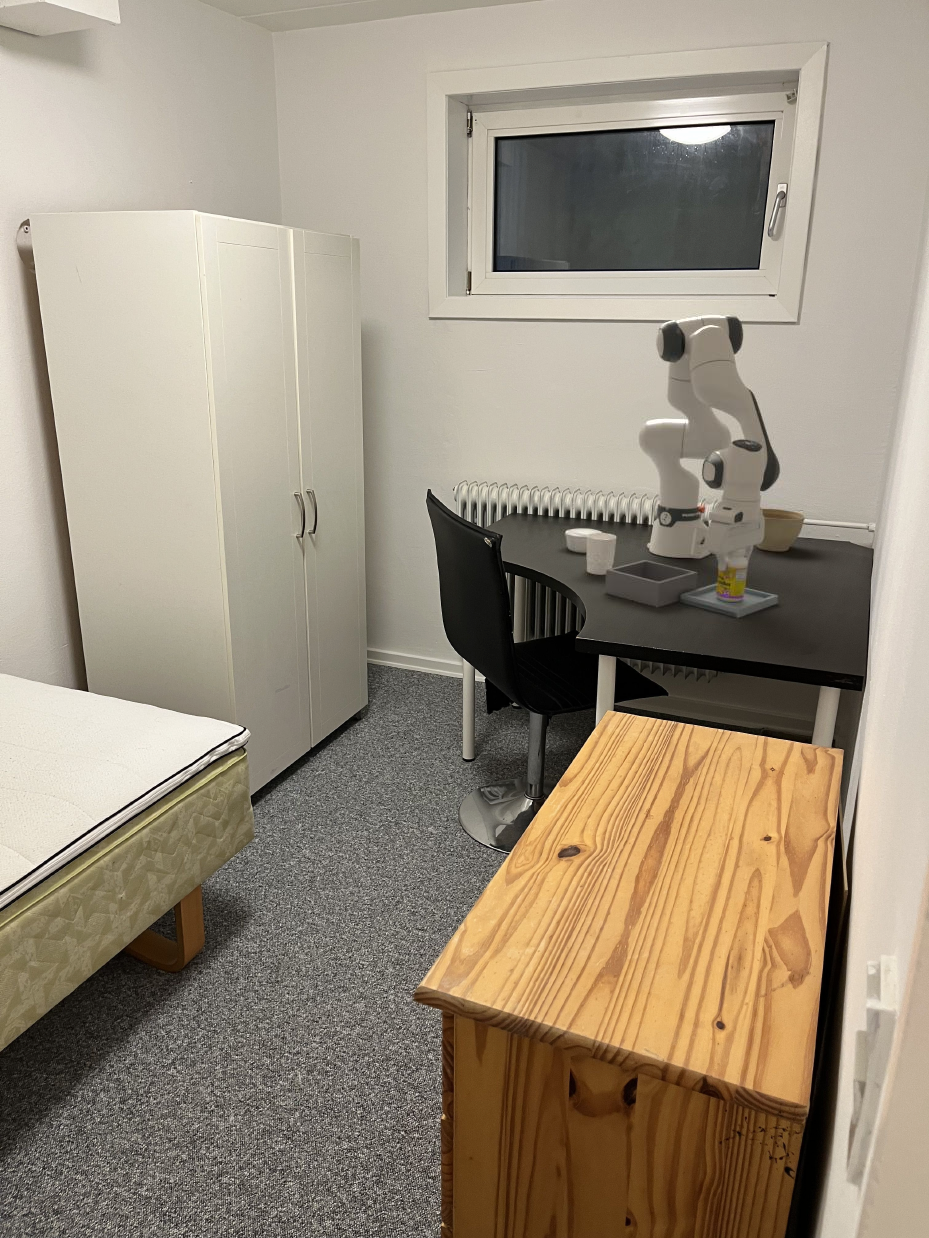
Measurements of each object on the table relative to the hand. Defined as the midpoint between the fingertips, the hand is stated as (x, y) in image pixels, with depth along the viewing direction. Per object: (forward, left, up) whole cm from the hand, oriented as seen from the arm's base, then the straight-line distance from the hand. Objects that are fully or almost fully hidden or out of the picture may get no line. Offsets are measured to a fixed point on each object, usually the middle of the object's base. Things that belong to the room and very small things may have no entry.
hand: (733, 566), depth 221 cm
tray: (0, 0, -9) cm, 9 cm away
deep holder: (+9, -17, -9) cm, 21 cm away
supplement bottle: (0, 0, -8) cm, 8 cm away
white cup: (+2, -39, -9) cm, 40 cm away
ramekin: (-15, -59, -10) cm, 62 cm away
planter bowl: (-62, -23, -9) cm, 66 cm away
